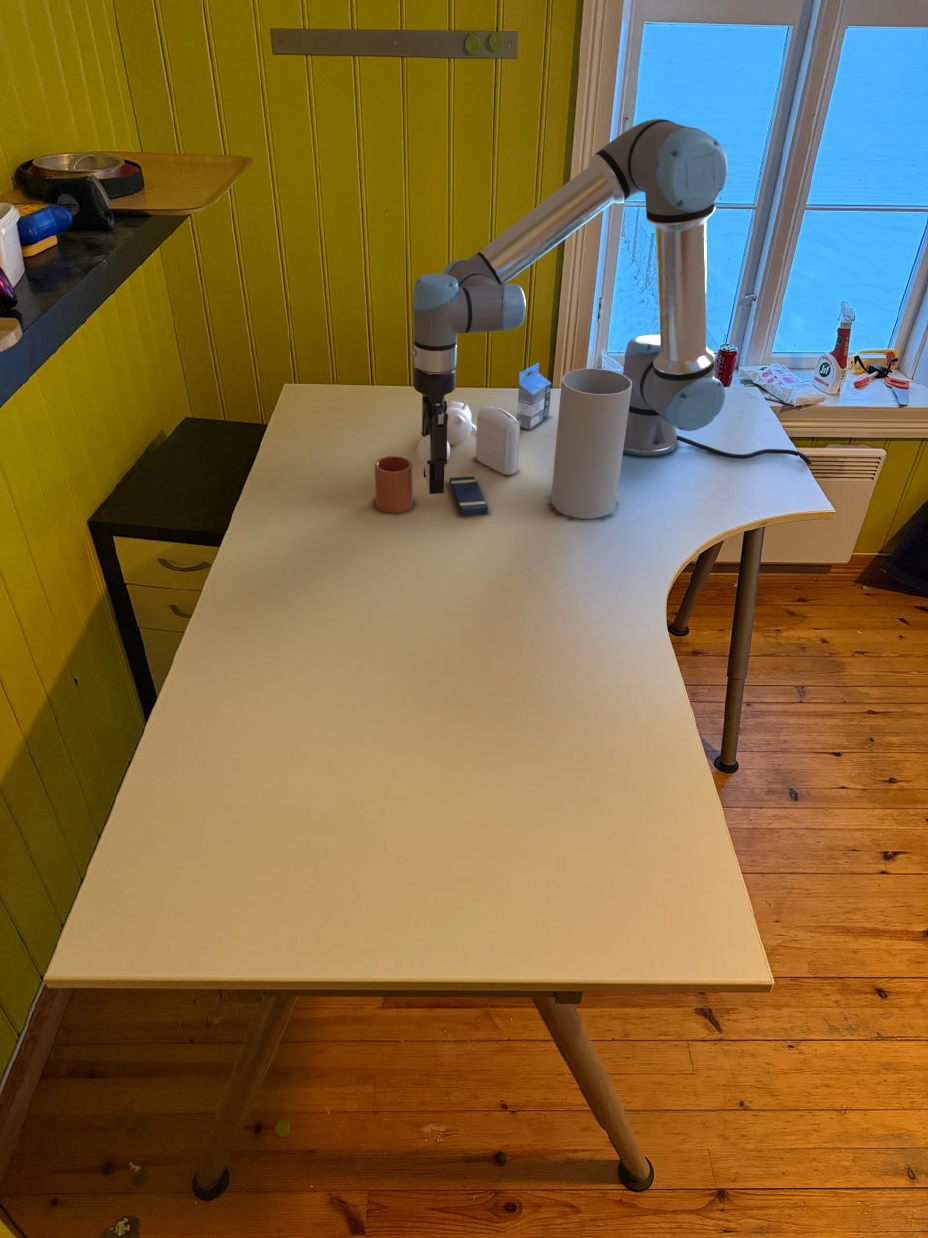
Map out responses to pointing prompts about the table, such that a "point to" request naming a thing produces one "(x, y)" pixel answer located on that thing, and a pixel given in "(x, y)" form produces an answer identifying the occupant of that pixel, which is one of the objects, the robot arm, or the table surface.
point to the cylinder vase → (590, 442)
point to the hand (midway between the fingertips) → (433, 484)
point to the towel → (468, 496)
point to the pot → (394, 484)
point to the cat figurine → (458, 422)
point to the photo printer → (497, 439)
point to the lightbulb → (427, 454)
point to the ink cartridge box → (533, 398)
